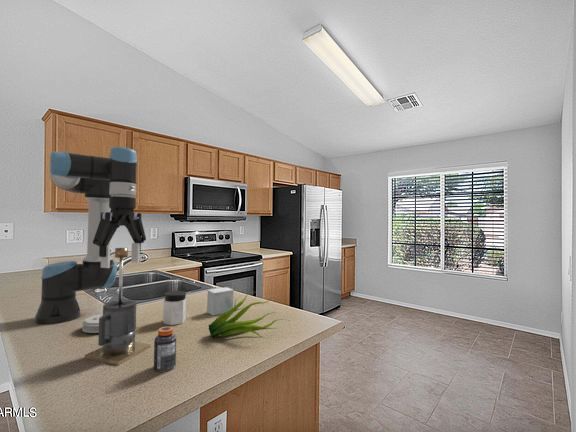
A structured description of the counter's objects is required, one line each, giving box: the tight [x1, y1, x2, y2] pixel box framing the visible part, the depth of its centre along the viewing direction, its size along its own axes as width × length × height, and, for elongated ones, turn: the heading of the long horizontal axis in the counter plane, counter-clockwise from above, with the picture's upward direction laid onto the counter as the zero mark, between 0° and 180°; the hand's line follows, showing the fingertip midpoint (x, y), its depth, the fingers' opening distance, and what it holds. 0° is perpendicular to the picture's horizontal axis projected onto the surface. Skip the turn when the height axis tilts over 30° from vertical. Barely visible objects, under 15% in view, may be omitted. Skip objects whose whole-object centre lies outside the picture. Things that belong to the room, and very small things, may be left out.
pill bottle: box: [153, 325, 177, 373], centre depth 88 cm, size 6×6×11 cm
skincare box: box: [206, 287, 234, 317], centre depth 140 cm, size 10×6×10 cm, turn 131°
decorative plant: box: [208, 291, 290, 338], centre depth 117 cm, size 18×30×15 cm, turn 89°
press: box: [84, 299, 151, 366], centre depth 97 cm, size 13×14×16 cm
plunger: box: [114, 247, 129, 305], centre depth 97 cm, size 4×4×18 cm
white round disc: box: [81, 313, 103, 334], centre depth 117 cm, size 13×13×5 cm
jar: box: [162, 290, 187, 326], centre depth 126 cm, size 9×8×12 cm
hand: (121, 264), depth 97 cm, fingers open, 11 cm apart
